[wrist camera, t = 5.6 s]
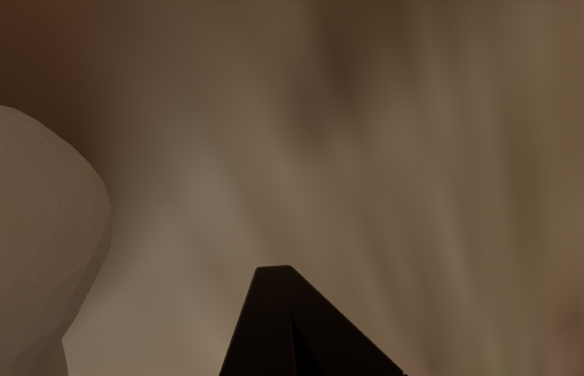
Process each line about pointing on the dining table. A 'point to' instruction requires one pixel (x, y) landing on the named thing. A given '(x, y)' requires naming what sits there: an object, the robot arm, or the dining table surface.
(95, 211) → the teacup
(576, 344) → the dining table surface
